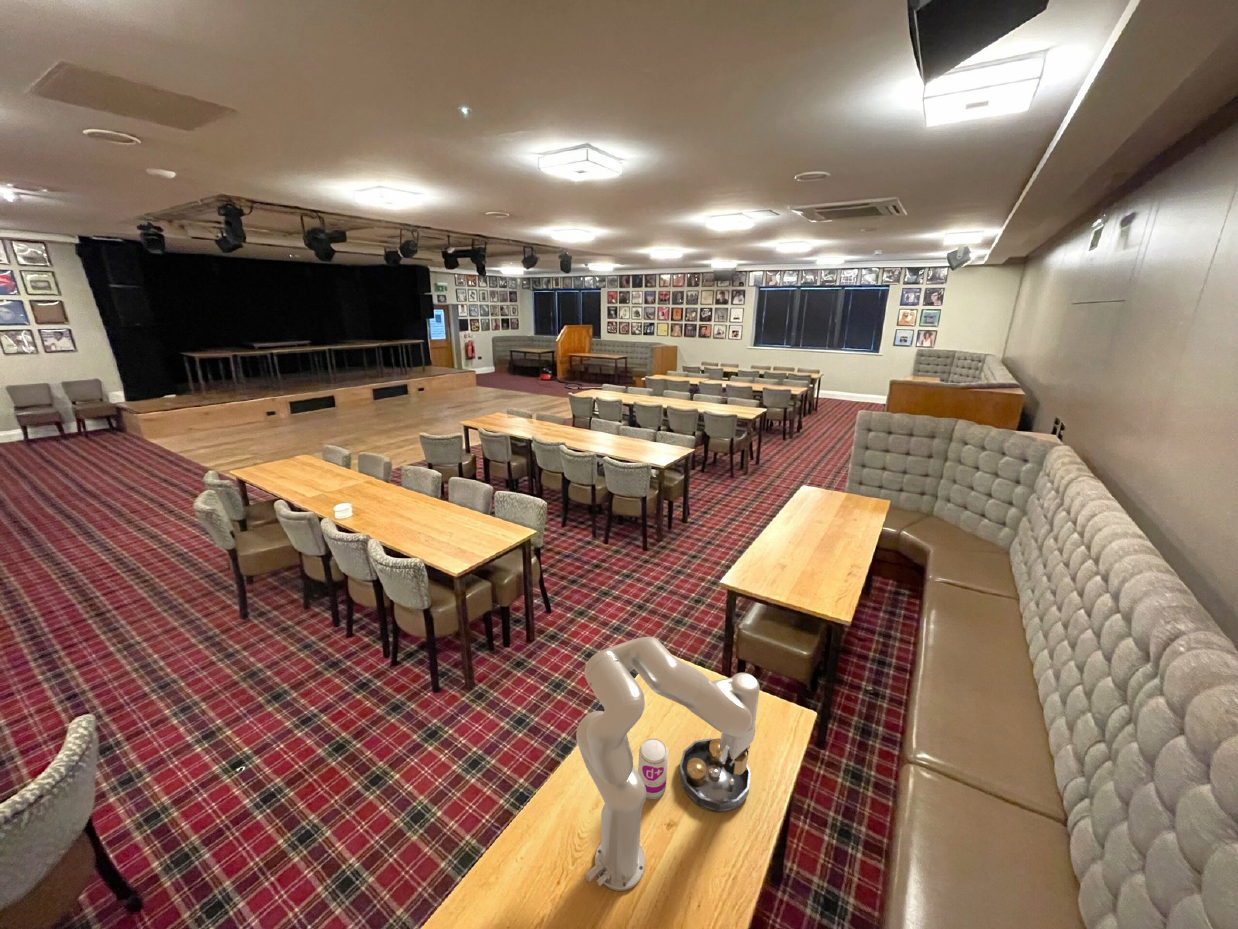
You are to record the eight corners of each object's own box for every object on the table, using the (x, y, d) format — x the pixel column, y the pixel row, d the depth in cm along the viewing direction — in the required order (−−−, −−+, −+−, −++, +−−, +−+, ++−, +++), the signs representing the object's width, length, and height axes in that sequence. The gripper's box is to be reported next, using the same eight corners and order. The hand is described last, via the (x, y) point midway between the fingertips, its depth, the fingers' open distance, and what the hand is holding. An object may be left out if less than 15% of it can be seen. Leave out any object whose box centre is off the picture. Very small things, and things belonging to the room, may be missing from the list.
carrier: (719, 827, 133) (721, 812, 130) (666, 774, 147) (667, 759, 144) (762, 782, 145) (765, 766, 143) (709, 736, 159) (710, 722, 157)
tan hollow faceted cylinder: (721, 764, 138) (723, 751, 137) (733, 752, 142) (735, 740, 140) (737, 778, 135) (739, 765, 133) (749, 766, 138) (751, 753, 136)
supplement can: (664, 803, 139) (666, 765, 133) (635, 797, 140) (636, 759, 135) (667, 776, 146) (670, 739, 141) (639, 771, 147) (641, 734, 142)
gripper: (748, 691, 139) (742, 737, 146) (709, 725, 129) (705, 774, 136) (771, 707, 134) (764, 755, 141) (732, 744, 124) (727, 794, 130)
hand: (735, 764), depth 138 cm, fingers closed on tan hollow faceted cylinder, 5 cm apart
